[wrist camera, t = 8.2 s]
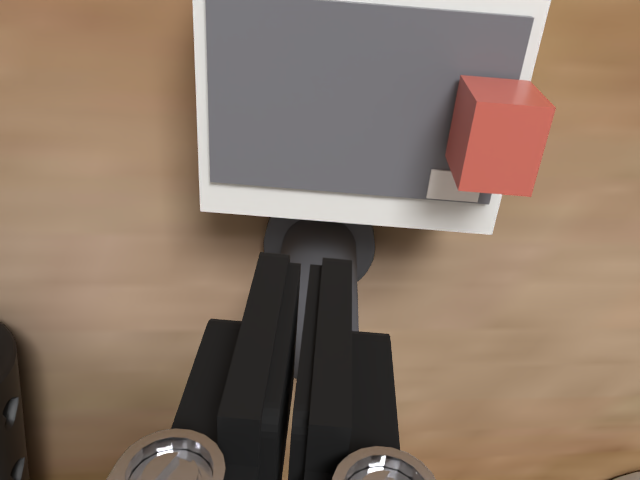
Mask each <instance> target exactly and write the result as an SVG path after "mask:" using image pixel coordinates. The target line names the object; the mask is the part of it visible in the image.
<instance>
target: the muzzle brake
mask: <svg viewBox="0 0 640 480" xmlns="http://www.w3.org/2000/svg"><path fill="white" fill-rule="evenodd" d="M0 480H30V479H29V469H28V459H27V449H26V439H25V429H24V418H23V408H22V398H21V388H20V378H19V368H18V358H17V348H16V341H15V339H14V337H13V335H12V333H11V332H10V331H9V330H8V328H7V327H6V326H5V325H4V324H2V323H1V322H0Z"/></svg>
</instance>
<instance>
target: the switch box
mask: <svg viewBox="0 0 640 480" xmlns="http://www.w3.org/2000/svg"><path fill="white" fill-rule="evenodd" d="M550 2H551V0H193V24H194V52H195V80H196V108H197V135H198V163H199V191H200V211H203V212H215V213H228V214H240V215H253V216H265V217H278V218H290V219H303V220H315V221H328V222H340V223H352V224H365V225H377V226H390V227H402V228H415V229H427V230H440V231H452V232H465V233H477V234H490V235H492V233H493V229H494V225H495V221H496V217H497V213H498V209H499V205H500V201H501V197H502V194H491V193H479V192H466V191H458V189H457V186H456V184H455V181H454V178H453V176H452V173H451V170H450V168H449V165H448V162H447V160H446V157H445V153H446V148H447V143H448V138H449V132H450V127H451V122H452V117H453V111H454V106H455V101H456V96H457V90H458V85H459V80H460V75H466V76H478V77H491V78H503V79H515V80H528V81H530V82H531V78H532V74H533V70H534V66H535V62H536V58H537V54H538V50H539V46H540V42H541V38H542V34H543V30H544V26H545V22H546V18H547V14H548V10H549V6H550Z"/></svg>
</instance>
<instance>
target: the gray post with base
mask: <svg viewBox="0 0 640 480" xmlns="http://www.w3.org/2000/svg"><path fill="white" fill-rule="evenodd" d="M264 252H265V253H277V254H289V255H290V262H291V263H301V274H300V289H299V304H298V320H297V335H296V350H295V366H294V378H296V379H297V374H298V366H299V357H300V349H301V340H302V331H303V323H304V314H305V305H306V297H307V288H308V280H309V271H310V264H314V265H322V259H323V257H324V258H336V259H347V260H352V331H358V332H359V328H358V293H357V281H359V280H360V279H361V278H362V277H363V276H364V275H365V273H366V272H367V271H368V269H369V267H370V266H371V263H372V261H373V257H374V253H375V242H374V231H373V227H372V225H365V224H352V223H340V222H328V221H315V220H303V219H290V218H278V217H270V220H269V222H268V225H267V229H266V233H265V237H264Z"/></svg>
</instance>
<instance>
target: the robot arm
mask: <svg viewBox="0 0 640 480" xmlns="http://www.w3.org/2000/svg"><path fill="white" fill-rule="evenodd" d="M300 274H301V263H291V262H290V255H289V254H277V253H265V252H261V253H260V255H259V259H258V262H257V266H256V270H255V274H254V278H253V281H252V285H251V289H250V293H249V297H248V300H247V304H246V308H245V312H244V316H243V319H242V321H231V320H219V319H210V320H209V322H208V324H207V326H206V329H205V332H204V335H203V338H202V341H201V344H200V346H199V349H198V352H197V355H196V358H195V361H194V364H193V367H192V370H191V373H190V376H189V378H188V381H187V384H186V387H185V390H184V393H183V396H182V399H181V402H180V405H179V408H178V410H177V413H176V416H175V419H174V422H173V425H172V428H171V429H169V430H163V431H158V432H155V433H153V434H150V435H148V436H145V437H143V438H141V439H140V440H138V441H137V442H136V443H134V444H133V445H131V446H130V447H129V448H128V449H127V450H126V451H125V453H124V454H123V455H122V456H121V457H120V459H119V460H118V461H117V463H116V465H115V466H114V468H113V470H112V471H111V473H110V474H109V476H108V478H107V479H106V480H282V472H283V464H284V456H285V448H286V439H287V431H288V423H289V415H290V407H291V399H292V390H293V380H294V366H295V350H296V335H297V320H298V304H299V289H300ZM288 480H436V479H435V477H434V475H433V474H432V473H431V471H430V470H429V469H428V468H427V467H426V466H425V465H424V464H423V463H422V462H421V461H419V460H418V459H416V458H415V457H413V456H412V455H410V454H409V453H407V452H404V451H401V450H400V443H399V431H398V420H397V408H396V397H395V385H394V374H393V362H392V351H391V341H390V336H389V334H382V333H370V332H358V331H352V260H347V259H336V258H324V257H323V259H322V265H314V264H310V271H309V280H308V288H307V297H306V305H305V314H304V323H303V331H302V340H301V349H300V357H299V366H298V374H297V383H296V392H295V400H294V409H293V419H292V431H291V444H290V459H289V474H288ZM613 480H640V471H639V472H634V473H631V474H627V475H624V476H620V477H617V478H615V479H613Z"/></svg>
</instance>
